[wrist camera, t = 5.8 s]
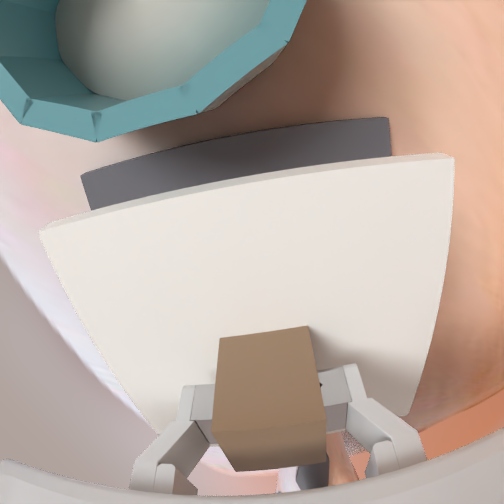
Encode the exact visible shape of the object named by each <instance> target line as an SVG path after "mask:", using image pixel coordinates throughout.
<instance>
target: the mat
mask: <svg viewBox="0 0 504 504" xmlns="http://www.w3.org/2000/svg"><path fill="white" fill-rule="evenodd" d="M381 157H391V143H390V130H389V119H388V118H386V117H377V118H362V119H349V120H338V121H328V122H319V123H310V124H302V125H295V126H287V127H280V128H274V129H267V130H261V131H255V132H249V133H243V134H238V135H232V136H227V137H222V138H217V139H212V140H207V141H202V142H198V143H193V144H189V145H184V146H180V147H176V148H172V149H168V150H164V151H160V152H156V153H152V154H148V155H144V156H140V157H137V158H133V159H130V160H126V161H123V162H119V163H116V164H112V165H109V166H106V167H102V168H99V169H96V170H93V171H90V172H87V173H84V174H83V175H81V180H82V183H83V186H84V189H85V193H86V196H87V199H88V202H89V205H90V208H91V211H92V210H96V209H99V208H103V207H107V206H111V205H115V204H119V203H123V202H127V201H131V200H135V199H139V198H143V197H147V196H152V195H156V194H160V193H165V192H169V191H174V190H179V189H183V188H188V187H193V186H198V185H203V184H207V183H213V182H218V181H223V180H228V179H234V178H239V177H245V176H250V175H256V174H262V173H268V172H274V171H280V170H287V169H293V168H300V167H307V166H314V165H321V164H329V163H336V162H345V161H353V160H362V159H371V158H381Z"/></svg>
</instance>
